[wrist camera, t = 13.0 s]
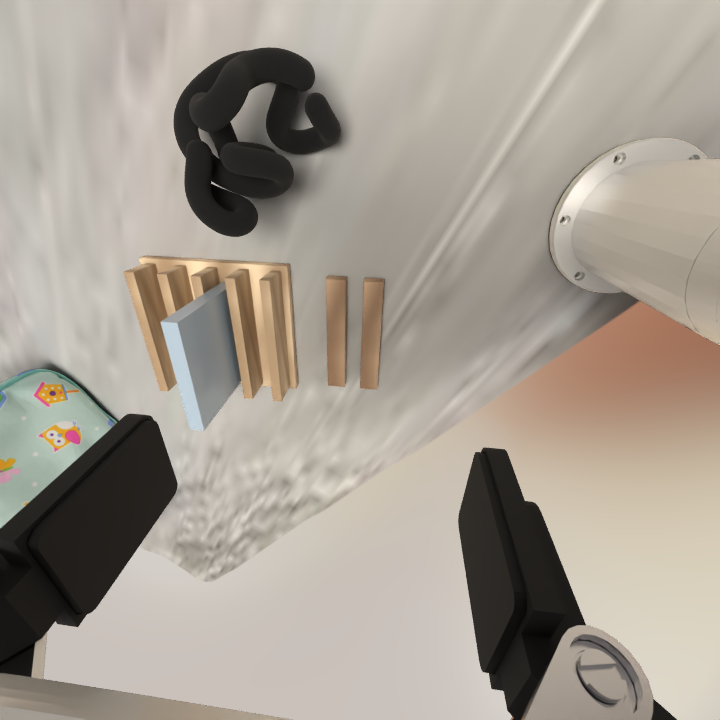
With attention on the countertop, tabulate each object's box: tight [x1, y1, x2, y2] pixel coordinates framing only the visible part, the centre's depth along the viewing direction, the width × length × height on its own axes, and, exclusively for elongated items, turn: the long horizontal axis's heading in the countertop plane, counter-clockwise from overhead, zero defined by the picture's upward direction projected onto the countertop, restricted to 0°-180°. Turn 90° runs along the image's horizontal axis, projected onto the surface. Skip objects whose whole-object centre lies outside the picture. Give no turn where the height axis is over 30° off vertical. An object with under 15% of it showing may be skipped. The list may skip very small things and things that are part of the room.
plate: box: [161, 281, 241, 431], centre depth 35 cm, size 1×11×11 cm, turn 178°
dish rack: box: [124, 256, 298, 401], centre depth 39 cm, size 16×15×4 cm
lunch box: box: [0, 369, 118, 528], centre depth 43 cm, size 27×10×21 cm, turn 26°
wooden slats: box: [326, 276, 384, 389], centre depth 39 cm, size 6×13×1 cm, turn 178°
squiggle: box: [174, 48, 341, 237], centre depth 27 cm, size 11×10×15 cm
